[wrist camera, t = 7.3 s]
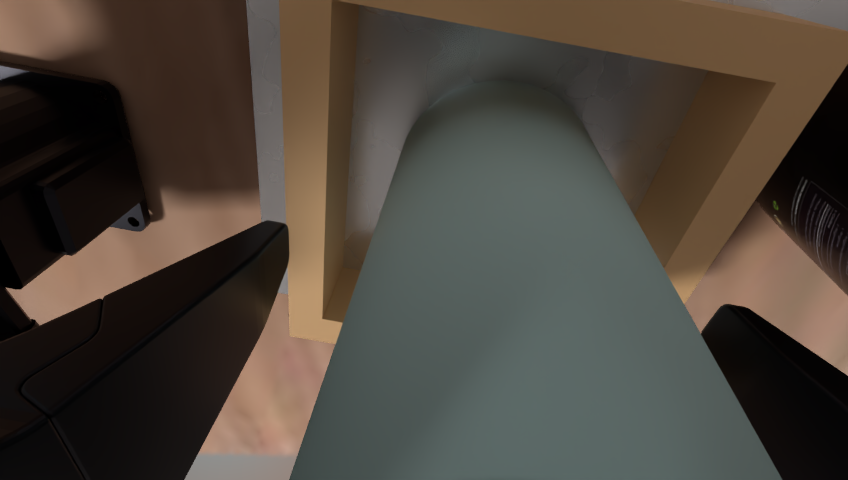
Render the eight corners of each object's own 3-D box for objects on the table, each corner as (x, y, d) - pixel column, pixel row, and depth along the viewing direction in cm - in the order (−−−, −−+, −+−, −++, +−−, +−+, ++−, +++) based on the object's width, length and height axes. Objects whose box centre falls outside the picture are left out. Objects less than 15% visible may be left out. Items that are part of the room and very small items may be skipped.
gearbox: (301, 230, 19) (236, 342, 14) (298, -144, 12) (161, -202, 7) (613, 287, 20) (665, 419, 14) (794, -49, 12) (1036, -35, 7)
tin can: (389, 238, 14) (262, 685, 6) (412, 61, 11) (208, 477, 3) (556, 268, 14) (673, 755, 6) (626, 101, 11) (1105, 636, 3)
